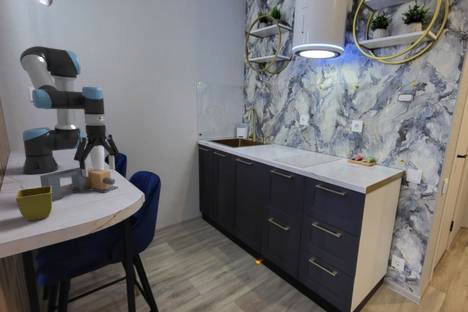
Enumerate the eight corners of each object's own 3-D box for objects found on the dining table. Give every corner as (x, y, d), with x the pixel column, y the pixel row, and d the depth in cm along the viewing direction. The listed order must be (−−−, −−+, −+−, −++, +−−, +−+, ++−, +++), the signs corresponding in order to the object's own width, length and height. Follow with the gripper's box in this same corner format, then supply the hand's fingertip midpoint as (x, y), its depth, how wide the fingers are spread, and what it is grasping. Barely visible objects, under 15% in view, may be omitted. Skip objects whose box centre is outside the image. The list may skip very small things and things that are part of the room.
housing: (43, 199, 94) (40, 175, 92) (81, 188, 108) (79, 167, 106) (51, 202, 92) (47, 177, 90) (89, 190, 106) (87, 168, 104)
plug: (75, 183, 112) (74, 169, 111) (85, 180, 117) (84, 166, 115) (107, 191, 104) (106, 175, 103) (117, 187, 109) (116, 172, 107)
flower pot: (19, 225, 74) (15, 198, 73) (22, 215, 81) (18, 189, 80) (54, 218, 79) (51, 192, 78) (54, 209, 86) (51, 185, 85)
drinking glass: (108, 172, 134) (106, 145, 131) (96, 175, 128) (94, 147, 125) (101, 170, 137) (99, 144, 134) (89, 173, 131) (86, 146, 128)
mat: (71, 184, 112) (71, 183, 112) (85, 180, 119) (85, 179, 118) (104, 192, 104) (104, 191, 104) (118, 188, 110) (118, 186, 110)
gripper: (72, 126, 91) (77, 181, 96) (125, 123, 113) (127, 167, 118) (59, 125, 94) (65, 178, 99) (113, 122, 116) (116, 165, 121)
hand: (99, 172), depth 108 cm, fingers open, 13 cm apart
